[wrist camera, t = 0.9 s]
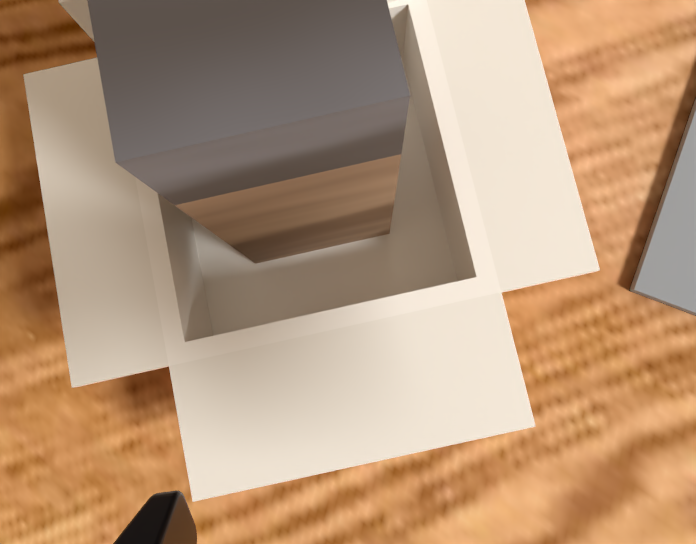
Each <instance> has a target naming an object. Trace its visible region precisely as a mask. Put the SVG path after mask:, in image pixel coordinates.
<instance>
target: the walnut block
mask: <svg viewBox="0 0 696 544" xmlns="http://www.w3.org/2000/svg"><path fill="white" fill-rule="evenodd" d="M87 1H88V7H89V13H90V19H91V24H92V30H93V36H94V42H95V47H96V53H97V59H98V65H99V71H100V76H101V82H102V88H103V94H104V99H105V105H106V111H107V117H108V123H109V128H110V134H111V140H112V146H113V151H114V157H115V163H117V164H118V165H120V166H121V167H122V168H124V169H125V170H127V171H128V172H129V173H131V174H132V175H133V176H135V177H136V178H138V179H139V180H140V181H142V182H143V183H145V184H146V185H147V186H149V187H150V188H151V189H153V190H154V191H156V192H157V193H158V194H160V195H161V196H163V197H164V198H165V199H167V200H168V201H169V202H171V203H172V204H174V205H175V206H176V207H178V208H179V209H180V210H182V211H183V212H185V213H186V214H187V215H189V216H190V217H192V218H193V219H194V220H196V221H197V222H198V223H200V224H201V225H203V226H204V227H205V228H207V229H208V230H210V231H211V232H212V233H214V234H215V235H216V236H218V237H219V238H221V239H222V240H223V241H225V242H226V243H228V244H229V245H230V246H232V247H233V248H234V249H236V250H237V251H239V252H240V253H241V254H243V255H244V256H246V257H247V258H248V259H250V260H251V261H252V262H254V263H255V264H257V263H261V262H266V261H270V260H275V259H279V258H283V257H288V256H292V255H297V254H301V253H306V252H310V251H315V250H319V249H324V248H328V247H333V246H337V245H341V244H346V243H350V242H355V241H359V240H364V239H368V238H373V237H377V236H382V235H386V234H390V227H391V221H392V214H393V207H394V201H395V194H396V187H397V181H398V174H399V167H400V161H401V154H402V147H403V141H404V134H405V127H406V121H407V114H408V107H409V101H410V93H409V89H408V84H407V80H406V76H405V72H404V68H403V64H402V60H401V56H400V52H399V48H398V44H397V40H396V36H395V32H394V28H393V23H392V19H391V15H390V11H389V7H388V3H387V0H87Z"/></svg>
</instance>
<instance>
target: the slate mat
mask: <svg viewBox="0 0 696 544" xmlns="http://www.w3.org/2000/svg"><path fill="white" fill-rule="evenodd" d="M629 291H631V292H634V293H637V294H639V295H642V296H645V297H647V298H650V299H653V300H655V301H658V302H661V303H663V304H666V305H669V306H671V307H674V308H677V309H679V310H682V311H685V312H687V313H690V314H693V315H695V316H696V99H695V102H694V104H693V107H692V110H691V113H690V116H689V119H688V122H687V125H686V128H685V131H684V133H683V136H682V139H681V142H680V145H679V148H678V151H677V154H676V157H675V160H674V163H673V165H672V168H671V171H670V174H669V177H668V180H667V183H666V186H665V189H664V192H663V194H662V197H661V200H660V203H659V206H658V209H657V212H656V215H655V218H654V221H653V224H652V226H651V229H650V232H649V235H648V238H647V241H646V244H645V247H644V250H643V253H642V255H641V258H640V261H639V264H638V267H637V270H636V273H635V276H634V279H633V282H632V285H631V287H630V290H629Z"/></svg>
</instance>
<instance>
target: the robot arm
mask: <svg viewBox="0 0 696 544" xmlns="http://www.w3.org/2000/svg"><path fill="white" fill-rule="evenodd" d="M113 544H197V533H196V526H195V523H194V521H193V518H192V515H191V513H190V510H189V508H188V505H187V503H186V500H185V497H184V495H183V494H182V493H181V492H180V491H170V492H162V493H156V494H154V495H153V496H151V497H150V498H149V499H148V501H147V502H146V503H145V504H144V506H143V507H142V508H141V509H140V511H139V512H138V513H137V514H136V516H135V517H134V518H133V519H132V521H131V522H130V523H129V524H128V526H127V527H126V528H125V529H124V531H123V532H122V533H121V534H120V536H119V537H118V538H117V539H116V541H115V542H114V543H113Z"/></svg>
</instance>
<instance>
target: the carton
mask: <svg viewBox="0 0 696 544" xmlns="http://www.w3.org/2000/svg"><path fill="white" fill-rule="evenodd" d="M387 3H388V7H389V11H390V15H391V19H392V23H393V28H394V32H395V36H396V40H397V44H398V48H399V52H400V56H401V60H402V64H403V68H404V72H405V76H406V80H407V84H408V89H409V93H410V101H409V107H408V114H407V121H406V127H405V134H404V141H403V147H402V154H401V161H400V167H399V174H398V181H397V187H396V194H395V201H394V207H393V214H392V221H391V227H390V234H386V235H382V236H377V237H373V238H368V239H364V240H359V241H355V242H350V243H346V244H341V245H337V246H333V247H328V248H324V249H319V250H315V251H310V252H306V253H301V254H297V255H292V256H288V257H283V258H279V259H275V260H270V261H266V262H261V263H257V264H255V263H254V262H252V261H251V260H250V259H248V258H247V257H246V256H244V255H243V254H241V253H240V252H239V251H237V250H236V249H234V248H233V247H232V246H230V245H229V244H228V243H226V242H225V241H223V240H222V239H221V238H219V237H218V236H216V235H215V234H214V233H212V232H211V231H210V230H208V229H207V228H205V227H204V226H203V225H201V224H200V223H198V222H197V221H196V220H194V219H193V218H192V217H190V216H189V215H187V214H186V213H185V212H183V211H182V210H180V209H179V208H178V207H176V206H175V205H174V204H172V203H171V202H169V201H168V200H167V199H165V198H164V197H163V196H161V195H160V194H158V193H157V192H156V191H154V190H153V189H151V188H150V187H149V186H147V185H146V184H145V183H143V182H142V181H140V180H139V179H138V178H136V177H135V176H133V175H132V174H131V173H129V172H128V171H127V170H125V169H124V168H122V167H121V166H120V165H118V164H117V163H115V157H114V151H113V146H112V140H111V134H110V128H109V123H108V117H107V111H106V105H105V99H104V94H103V88H102V82H101V76H100V71H99V65H98V59H97V58H93V59H88V60H84V61H79V62H75V63H71V64H66V65H62V66H58V67H53V68H49V69H45V70H40V71H36V72H32V73H27V74H23V76H24V82H25V89H26V95H27V101H28V108H29V114H30V121H31V127H32V134H33V140H34V147H35V153H36V160H37V166H38V172H39V179H40V185H41V192H42V198H43V205H44V211H45V218H46V224H47V231H48V237H49V243H50V250H51V256H52V263H53V269H54V276H55V282H56V289H57V295H58V302H59V308H60V314H61V321H62V327H63V334H64V340H65V347H66V353H67V360H68V366H69V373H70V379H71V385H72V388H73V387H80V386H84V385H89V384H93V383H98V382H102V381H107V380H111V379H116V378H120V377H125V376H129V375H134V374H138V373H143V372H147V371H152V370H156V369H161V368H165V367H169V370H170V376H171V381H172V387H173V393H174V398H175V404H176V410H177V415H178V421H179V427H180V432H181V438H182V444H183V449H184V455H185V460H186V466H187V472H188V477H189V483H190V489H191V494H192V500H193V502H194V501H198V500H203V499H208V498H212V497H217V496H221V495H226V494H230V493H235V492H239V491H244V490H249V489H253V488H258V487H262V486H267V485H271V484H276V483H280V482H285V481H289V480H294V479H299V478H303V477H308V476H312V475H317V474H321V473H326V472H330V471H335V470H340V469H344V468H349V467H353V466H358V465H362V464H367V463H371V462H376V461H381V460H385V459H390V458H394V457H399V456H403V455H408V454H412V453H417V452H422V451H426V450H431V449H435V448H440V447H444V446H449V445H453V444H458V443H463V442H467V441H472V440H476V439H481V438H485V437H490V436H494V435H499V434H503V433H508V432H513V431H517V430H522V429H526V428H531V427H535V422H534V418H533V414H532V410H531V406H530V402H529V399H528V395H527V391H526V387H525V383H524V379H523V375H522V371H521V367H520V363H519V359H518V356H517V352H516V348H515V344H514V340H513V336H512V332H511V328H510V324H509V320H508V316H507V313H506V309H505V305H504V301H503V297H502V292H507V291H511V290H516V289H520V288H525V287H529V286H534V285H538V284H543V283H547V282H552V281H556V280H561V279H565V278H570V277H574V276H578V275H583V274H587V273H592V272H596V271H599V270H600V269H599V265H598V261H597V258H596V254H595V251H594V247H593V244H592V240H591V236H590V233H589V229H588V226H587V222H586V218H585V215H584V211H583V208H582V204H581V201H580V197H579V193H578V190H577V186H576V183H575V179H574V176H573V172H572V168H571V165H570V161H569V158H568V154H567V151H566V147H565V143H564V140H563V136H562V133H561V129H560V125H559V122H558V118H557V115H556V111H555V108H554V104H553V100H552V97H551V93H550V90H549V86H548V83H547V79H546V75H545V72H544V68H543V65H542V61H541V57H540V54H539V50H538V47H537V43H536V40H535V36H534V32H533V29H532V25H531V22H530V18H529V15H528V11H527V7H526V4H525V0H387ZM59 4H60V5H61V6H62V7H63V8H64V9H65V10H66V11H67V12H68V13H69V15H70V16H71V17H72V18H73V19H74V20H75V21H76V22H77V23H78V24H79V26H80V27H81V28H82V29H83V30H84V31H85V32H86V33H87V34H88V36H89V37H90V38H91V39H92V40H93V41H94V36H93V30H92V24H91V19H90V13H89V7H88V1H87V0H59Z"/></svg>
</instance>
